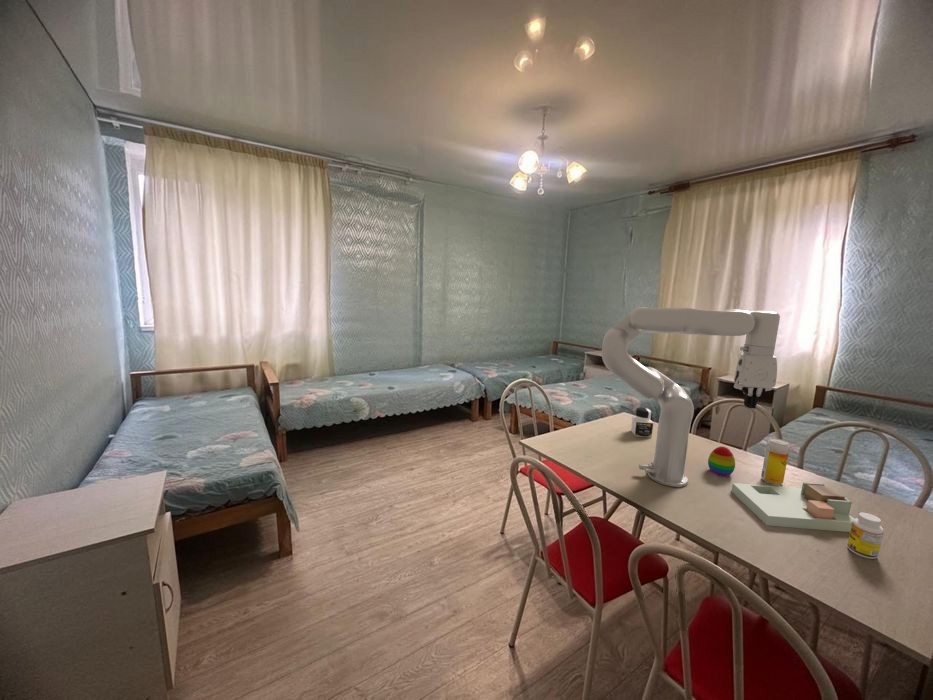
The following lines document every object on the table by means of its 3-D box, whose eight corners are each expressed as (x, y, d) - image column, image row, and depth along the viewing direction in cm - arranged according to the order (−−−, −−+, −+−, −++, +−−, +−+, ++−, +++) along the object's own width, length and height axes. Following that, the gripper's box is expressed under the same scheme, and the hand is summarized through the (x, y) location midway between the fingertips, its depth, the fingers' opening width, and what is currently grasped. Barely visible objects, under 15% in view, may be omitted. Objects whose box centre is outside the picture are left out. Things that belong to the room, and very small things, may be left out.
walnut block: (819, 509, 113) (822, 495, 112) (804, 497, 119) (806, 484, 118) (841, 510, 112) (844, 496, 111) (825, 499, 118) (828, 485, 117)
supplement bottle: (845, 542, 103) (853, 507, 101) (875, 551, 100) (883, 516, 98) (847, 553, 99) (855, 517, 97) (878, 563, 95) (887, 526, 94)
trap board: (766, 525, 110) (770, 503, 108) (731, 491, 127) (734, 471, 126) (859, 532, 107) (864, 510, 106) (809, 497, 125) (813, 477, 123)
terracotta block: (814, 527, 109) (818, 508, 108) (804, 518, 113) (808, 500, 112) (830, 528, 109) (834, 509, 108) (819, 519, 113) (823, 501, 112)
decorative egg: (738, 479, 135) (743, 452, 134) (715, 478, 136) (719, 451, 134) (724, 467, 143) (728, 442, 142) (702, 466, 144) (705, 442, 142)
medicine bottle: (634, 436, 171) (637, 410, 169) (630, 430, 178) (633, 405, 175) (651, 437, 170) (654, 412, 167) (647, 431, 176) (649, 406, 174)
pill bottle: (786, 487, 131) (794, 445, 128) (766, 484, 132) (773, 444, 129) (776, 478, 136) (783, 438, 134) (757, 476, 138) (764, 436, 135)
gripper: (740, 352, 116) (731, 409, 120) (793, 354, 115) (782, 412, 118) (726, 347, 124) (718, 402, 127) (776, 349, 122) (766, 404, 125)
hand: (749, 407), depth 123 cm, fingers closed
